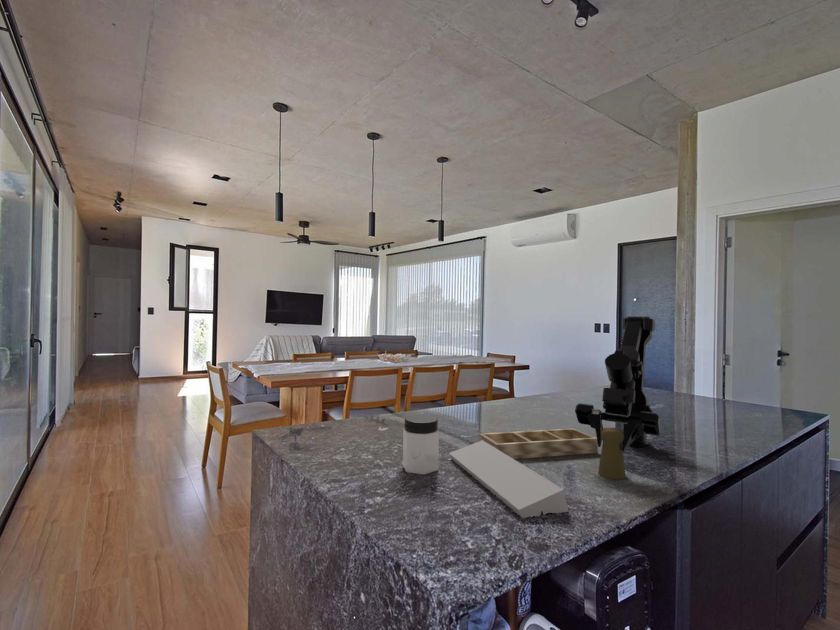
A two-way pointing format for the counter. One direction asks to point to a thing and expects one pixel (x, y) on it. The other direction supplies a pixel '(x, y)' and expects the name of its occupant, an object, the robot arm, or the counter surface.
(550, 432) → the spice rack
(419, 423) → the jar
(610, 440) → the olive pepper mill
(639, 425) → the robot arm
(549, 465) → the counter surface
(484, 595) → the counter surface
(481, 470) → the decorative molding
